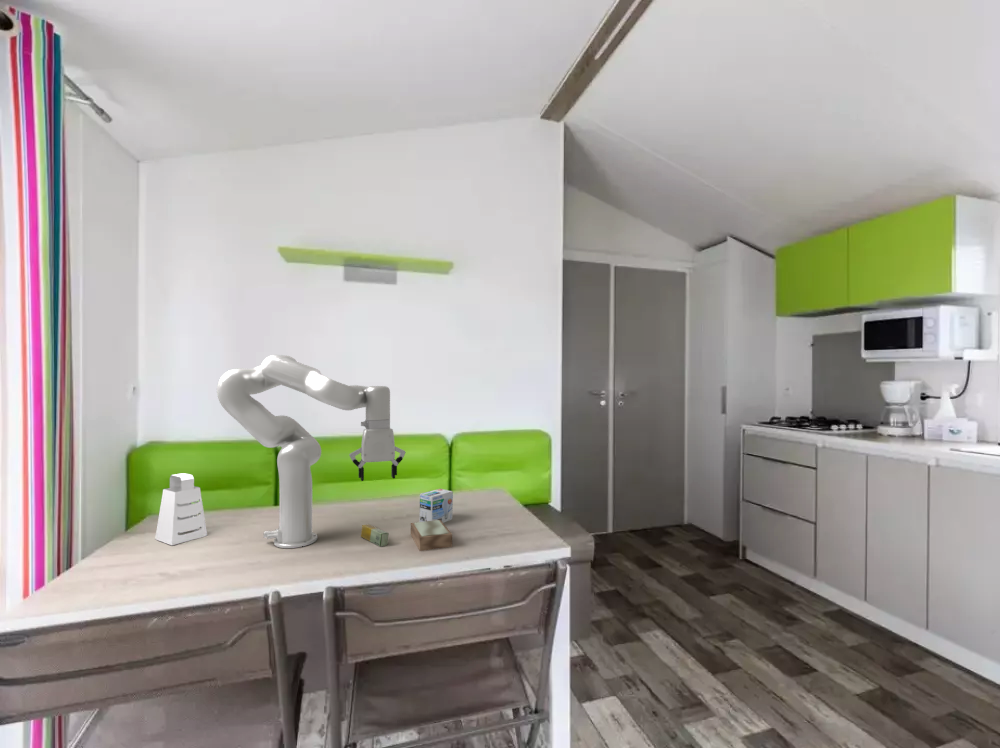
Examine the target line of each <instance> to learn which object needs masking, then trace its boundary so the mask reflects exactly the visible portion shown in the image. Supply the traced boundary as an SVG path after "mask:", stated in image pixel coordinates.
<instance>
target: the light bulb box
mask: <svg viewBox="0 0 1000 748" xmlns="http://www.w3.org/2000/svg"><path fill="white" fill-rule="evenodd" d="M453 493H454V492H453V491H452V490H448V489H443V488H437V489H434V490H430V491H427V492H422V493H419V522H425V521H434V520H441V521H442V522H443V523H446V522H449V521H451V520H453V502H454V500H453V499H454V498H453V497H454V494H453Z"/></svg>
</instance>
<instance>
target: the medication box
mask: <svg viewBox="0 0 1000 748" xmlns="http://www.w3.org/2000/svg"><path fill="white" fill-rule="evenodd" d="M360 537H361V538H363V540H366V541H368V542H370V543H372V544H374V545H377V546H378V547H380V548H383V547H386V546H388V542H389V532H388V531H385V530H383V529H380V528H379V527H376V526H374V525H372V524H369V523H367V524H361V532H360Z"/></svg>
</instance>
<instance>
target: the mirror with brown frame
mask: <svg viewBox="0 0 1000 748" xmlns="http://www.w3.org/2000/svg"><path fill="white" fill-rule="evenodd" d="M444 523H445V522H444ZM444 523H443V522H442V521H441V520H434V521H425V522H420V521H417V522H416V521H415V522H411V523H410V536H411V538H412V539H413V541H414V543H415V545H416V547H417V549H418V551H419V552H422V551H423V552H424V551H430V550H438V549H439V550H440V549H443V548H445V549H446V548H452V547H453V533H452V532H451V530H449V528H448V527H447V526H446V524H444Z"/></svg>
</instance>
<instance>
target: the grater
mask: <svg viewBox="0 0 1000 748" xmlns="http://www.w3.org/2000/svg"><path fill="white" fill-rule="evenodd" d="M202 498H203V497H202V492H201V487H199V486H195V478H194V476H193V474H190V473H184V472H183V473H181V472H180V473H177V474H176V473H175V474H171V475H170V477H169V488H167V487H166V488H163V489H162V495H161V500H160V501H161V502H160V507H159V515H158V518H157V519H158V520H157V525H156V526H157V527H156V531H155V537H154V540H156V541H159V542H161V543H163V544H164V543H165V544H168V545H170V546H174V545H178V544H182V543H185V542H188V541H193V540H196V539H200V538H203V537H207V536H208V531H207V525H206V517H205V512H204V506H203V505H204V504H203V501H202V500H203V499H202ZM190 531H192V532H190ZM186 532H189V533H186ZM182 533H183V534H182Z"/></svg>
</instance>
